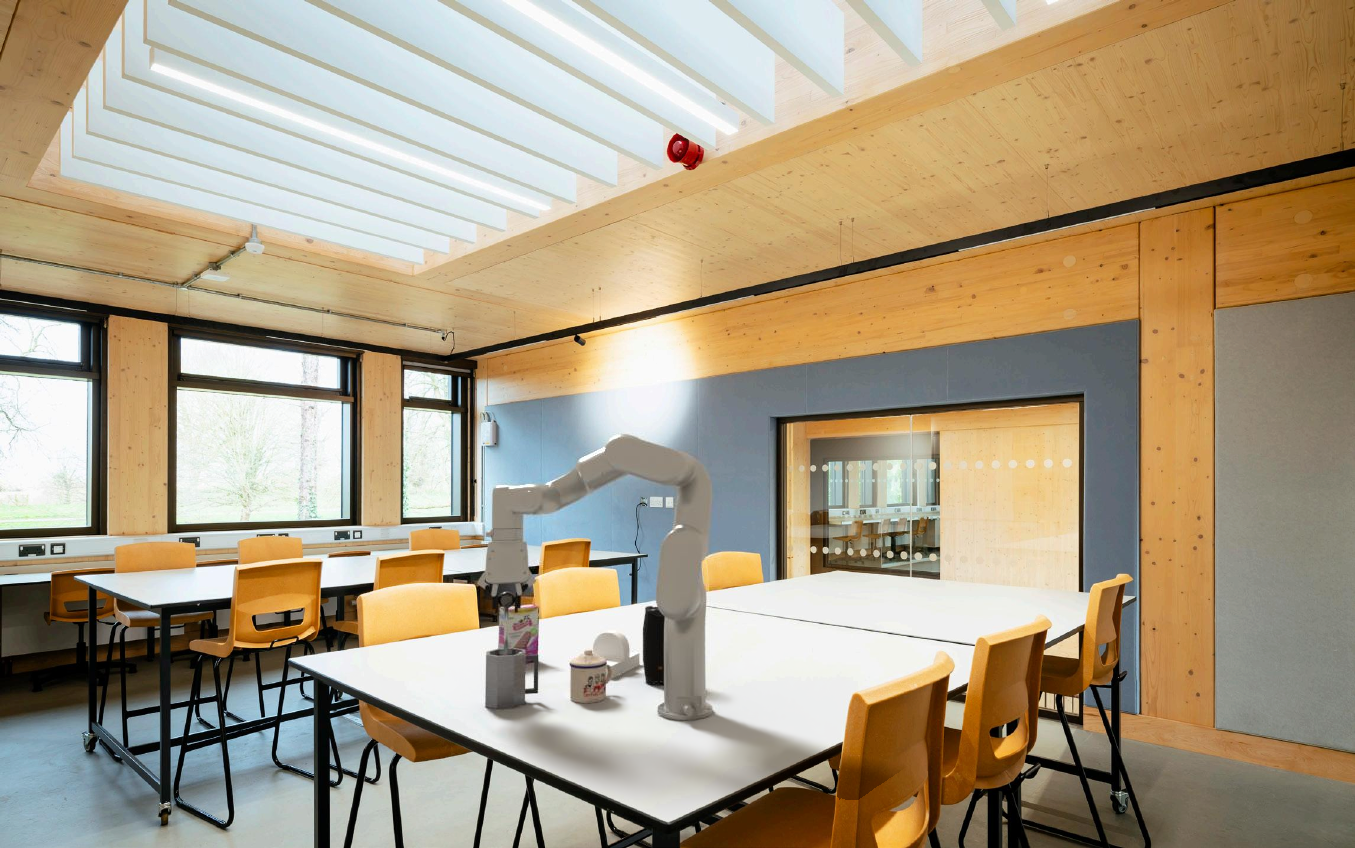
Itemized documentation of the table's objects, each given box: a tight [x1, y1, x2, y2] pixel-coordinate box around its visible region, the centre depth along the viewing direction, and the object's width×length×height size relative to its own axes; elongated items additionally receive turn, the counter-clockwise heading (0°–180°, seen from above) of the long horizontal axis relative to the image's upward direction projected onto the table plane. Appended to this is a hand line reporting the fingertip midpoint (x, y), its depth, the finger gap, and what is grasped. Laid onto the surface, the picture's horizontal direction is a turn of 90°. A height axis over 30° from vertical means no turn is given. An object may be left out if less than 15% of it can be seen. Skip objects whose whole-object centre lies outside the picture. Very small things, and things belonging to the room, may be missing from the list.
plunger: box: [498, 591, 515, 656], centre depth 180 cm, size 6×6×16 cm
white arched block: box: [592, 629, 640, 680], centre depth 212 cm, size 18×10×11 cm, turn 158°
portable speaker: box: [642, 605, 665, 686], centre depth 198 cm, size 9×9×20 cm
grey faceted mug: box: [484, 648, 539, 710], centre depth 179 cm, size 9×12×12 cm
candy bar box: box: [497, 604, 540, 663], centre depth 222 cm, size 11×5×16 cm, turn 130°
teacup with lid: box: [569, 648, 612, 704], centre depth 184 cm, size 12×9×12 cm
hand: (506, 611), depth 180 cm, fingers closed on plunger, 4 cm apart
